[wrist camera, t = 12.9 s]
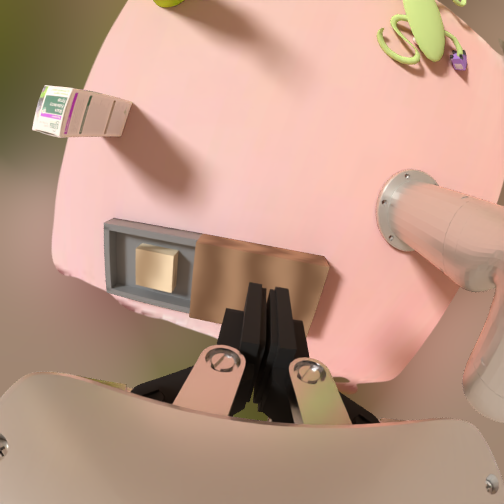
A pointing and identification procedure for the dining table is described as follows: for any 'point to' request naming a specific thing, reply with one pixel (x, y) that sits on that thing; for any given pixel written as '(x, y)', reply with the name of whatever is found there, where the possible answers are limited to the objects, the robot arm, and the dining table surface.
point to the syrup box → (80, 113)
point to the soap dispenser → (167, 2)
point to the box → (124, 261)
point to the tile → (156, 267)
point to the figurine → (425, 33)
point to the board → (252, 277)
